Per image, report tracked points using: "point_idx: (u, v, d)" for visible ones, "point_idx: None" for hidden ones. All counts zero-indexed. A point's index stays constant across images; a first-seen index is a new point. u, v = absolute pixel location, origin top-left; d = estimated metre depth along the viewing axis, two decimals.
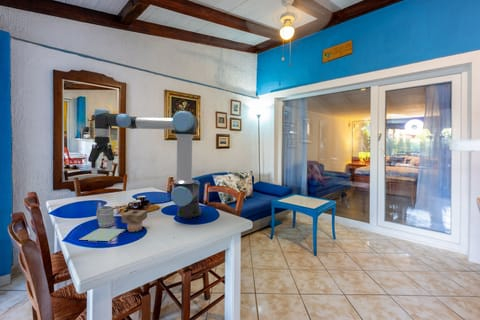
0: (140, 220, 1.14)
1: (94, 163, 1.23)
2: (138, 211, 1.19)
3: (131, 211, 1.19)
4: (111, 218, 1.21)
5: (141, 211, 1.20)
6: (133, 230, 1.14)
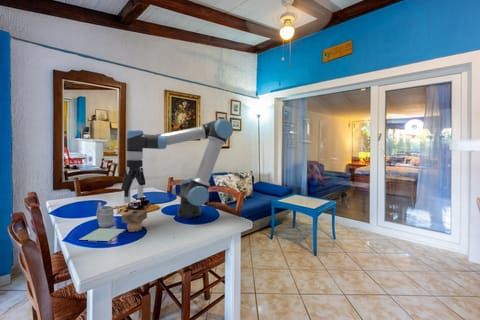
0: (140, 220, 1.14)
1: (127, 191, 1.08)
2: (138, 211, 1.19)
3: (131, 211, 1.19)
4: (111, 218, 1.21)
5: (141, 211, 1.20)
6: (133, 230, 1.14)
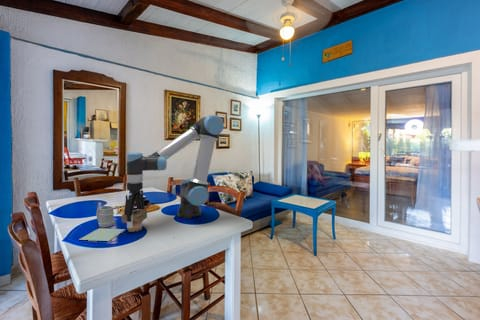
0: (140, 220, 1.14)
1: (130, 216, 1.11)
2: (138, 211, 1.19)
3: None
4: (111, 218, 1.21)
5: (141, 211, 1.20)
6: (133, 230, 1.14)
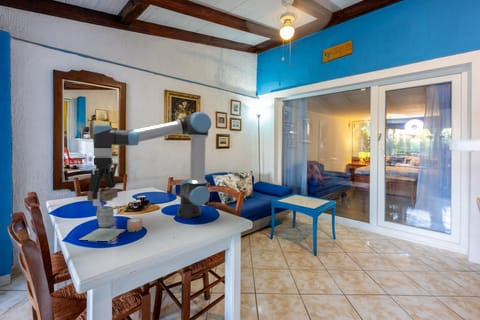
0: (108, 198, 1.05)
1: (96, 193, 1.02)
2: (107, 189, 1.10)
3: (99, 189, 1.09)
4: (111, 218, 1.21)
5: (111, 189, 1.11)
6: (133, 230, 1.14)
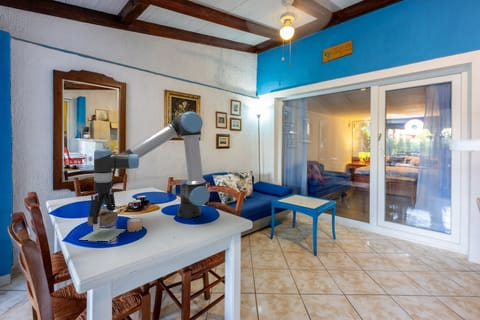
0: (108, 222, 1.05)
1: (96, 218, 1.02)
2: (107, 213, 1.10)
3: (100, 212, 1.10)
4: None
5: (111, 212, 1.11)
6: (133, 230, 1.14)
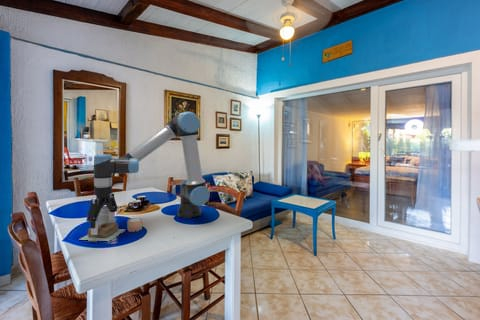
0: (108, 234, 1.06)
1: (94, 222, 1.01)
2: (108, 224, 1.11)
3: (100, 224, 1.11)
4: None
5: (111, 224, 1.12)
6: (133, 230, 1.14)
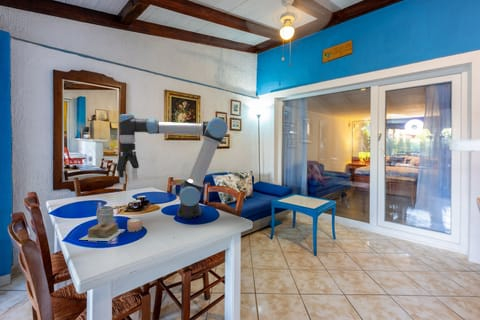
0: (108, 234, 1.06)
1: (122, 172, 1.15)
2: (108, 224, 1.11)
3: (100, 224, 1.11)
4: (111, 218, 1.21)
5: (111, 224, 1.12)
6: (133, 230, 1.14)
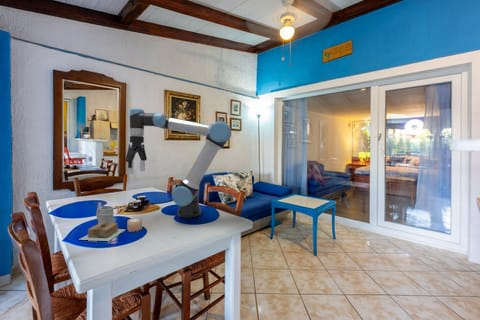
0: (108, 234, 1.06)
1: (131, 163, 1.22)
2: (108, 224, 1.11)
3: (100, 224, 1.11)
4: (111, 218, 1.21)
5: (111, 224, 1.12)
6: (133, 230, 1.14)
